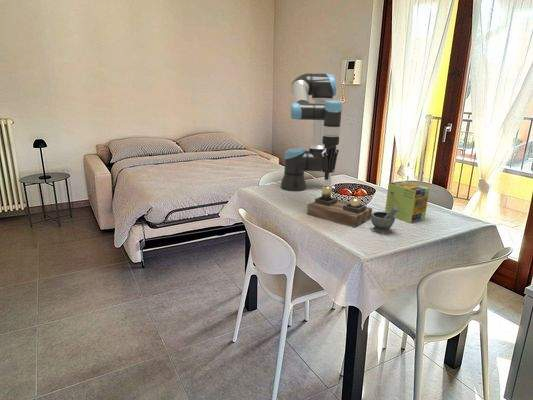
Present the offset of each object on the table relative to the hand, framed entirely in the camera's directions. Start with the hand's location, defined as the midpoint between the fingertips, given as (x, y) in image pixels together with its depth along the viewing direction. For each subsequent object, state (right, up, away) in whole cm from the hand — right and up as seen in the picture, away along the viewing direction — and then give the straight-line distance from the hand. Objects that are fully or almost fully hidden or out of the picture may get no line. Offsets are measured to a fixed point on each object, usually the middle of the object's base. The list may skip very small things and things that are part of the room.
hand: (327, 185), depth 178 cm
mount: (+5, -14, 0) cm, 15 cm away
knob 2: (+11, -11, -6) cm, 17 cm away
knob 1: (0, -5, +2) cm, 5 cm away
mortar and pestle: (+21, -20, -16) cm, 34 cm away
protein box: (+37, -15, +2) cm, 40 cm away
